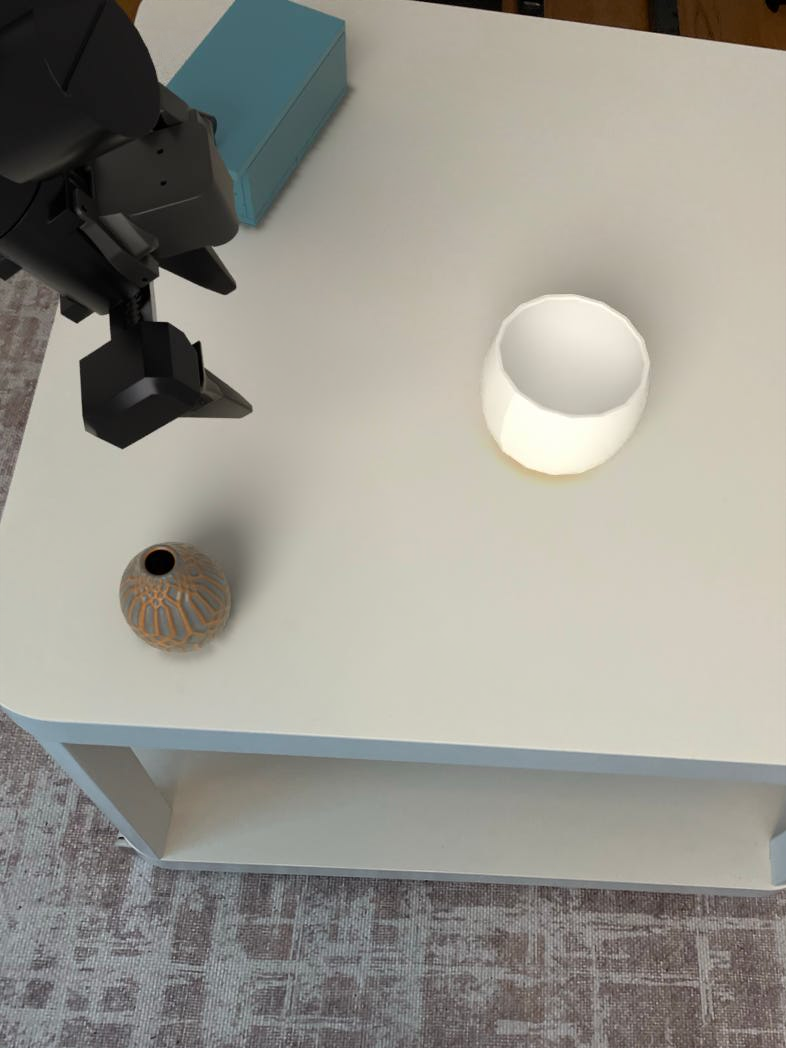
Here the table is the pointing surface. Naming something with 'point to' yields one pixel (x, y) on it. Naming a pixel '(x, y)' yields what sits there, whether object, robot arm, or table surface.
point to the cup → (564, 383)
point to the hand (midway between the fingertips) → (239, 349)
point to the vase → (175, 597)
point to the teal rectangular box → (292, 137)
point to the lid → (254, 72)
